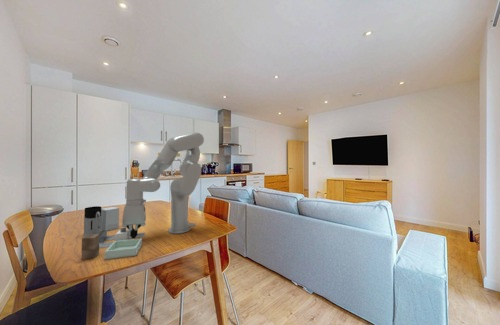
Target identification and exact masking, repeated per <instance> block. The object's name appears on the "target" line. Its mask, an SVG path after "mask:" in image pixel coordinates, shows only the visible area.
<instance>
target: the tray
mask: <svg viewBox="0 0 500 325" xmlns="http://www.w3.org/2000/svg"><path fill="white" fill-rule="evenodd" d="M112 242H113V243H112V244H111V245H110V246H109V247H107V248H106V250H104V260H112V259H113V260H114V259H121V258H122V259H123V258H129V257H136V256H137V255H138V253H139V251H140V250H141V247H142V246H143V237H140V238H133V239H131V238H130V240H121V241H115V240H114V241H112Z"/></svg>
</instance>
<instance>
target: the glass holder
mask: <svg viewBox="0 0 500 325" xmlns="http://www.w3.org/2000/svg"><path fill="white" fill-rule="evenodd" d="M101 209H102V206H96V205H95V206H87V207H85V208H84V216H83V235H82V238H83V237H85V236H86V235H92V234H99V233H100V232H101V231H102V230H101V229H102V214H101Z"/></svg>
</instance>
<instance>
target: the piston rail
mask: <svg viewBox="0 0 500 325" xmlns="http://www.w3.org/2000/svg"><path fill="white" fill-rule="evenodd" d="M145 236H146V232H137V236H136V237H135V238H143V237H145ZM115 239H116V234H114V235H113V234H111V235H108V231H107V230H102V231H101V232H100V233H99V249H102V248H109V246H110V245H111V244H112V243H113V242H114V241H113V240H115ZM130 239H131V237H130ZM111 240H112V241H111ZM105 241H107V242H105Z"/></svg>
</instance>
